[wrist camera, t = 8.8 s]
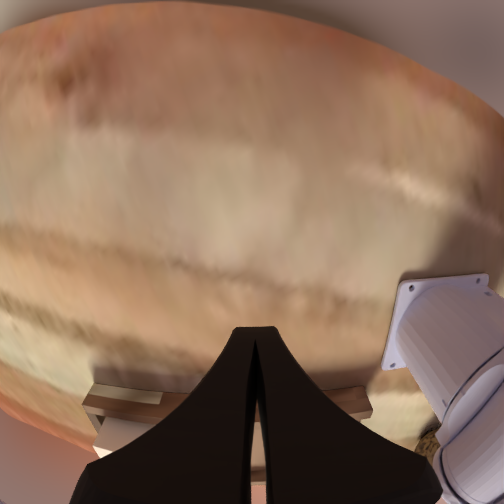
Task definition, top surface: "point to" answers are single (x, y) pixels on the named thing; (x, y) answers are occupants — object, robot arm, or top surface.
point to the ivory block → (117, 434)
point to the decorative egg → (428, 446)
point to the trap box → (162, 403)
